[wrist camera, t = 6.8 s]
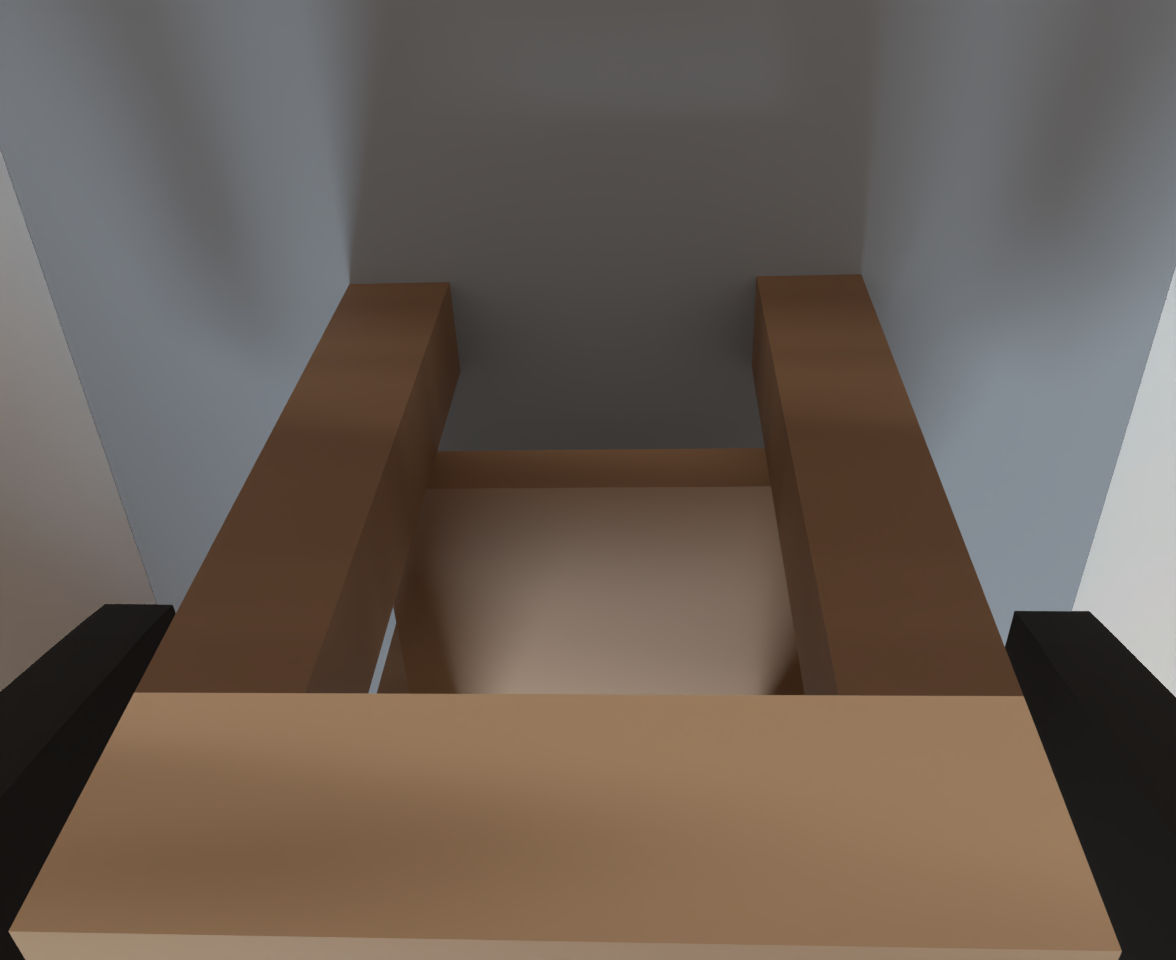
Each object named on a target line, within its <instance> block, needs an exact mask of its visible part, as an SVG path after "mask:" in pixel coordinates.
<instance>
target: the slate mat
mask: <svg viewBox="0 0 1176 960" xmlns="http://www.w3.org/2000/svg"><path fill="white" fill-rule="evenodd" d="M0 149H1V152H2V155H3V158H4V161H5V164H6V167H7V170H8V173H9V175H10V178H11V181H12V184H13V187H14V190H15V193H16V196H17V199H18V202H19V205H20V207H21V210H22V213H23V216H24V219H25V222H26V225H27V228H28V231H29V234H30V237H31V239H32V242H33V245H34V248H35V251H36V254H37V257H38V260H39V263H40V266H41V269H42V271H43V274H44V277H45V280H46V283H47V286H48V289H49V292H50V295H51V298H52V301H53V303H54V306H55V309H56V312H57V315H58V318H59V321H60V324H61V327H62V330H63V333H64V335H65V338H66V341H67V344H68V347H69V350H70V353H71V356H72V359H73V362H74V365H75V368H76V370H77V373H78V376H79V379H80V382H81V385H82V388H83V391H84V394H85V397H86V400H87V402H88V405H89V408H90V411H91V414H92V417H93V420H94V423H95V426H96V429H97V432H98V434H99V437H100V440H101V443H102V446H103V449H104V452H105V455H106V458H107V461H108V464H109V466H110V469H111V472H112V475H113V478H114V481H115V484H116V487H117V490H118V493H119V496H120V498H121V501H122V504H123V507H124V510H125V513H126V516H127V519H128V522H129V525H130V528H131V530H132V533H133V536H134V539H135V542H136V545H137V548H138V551H139V554H140V557H141V560H142V562H143V565H144V568H145V571H146V574H147V577H148V580H149V583H150V586H151V589H152V592H153V594H154V597H155V600H156V603H157V605H173V607H174V610H175V613H176V612H177V610H178V608H179V607H180V605H181V603H182V601H183V599H184V597H185V595H186V593H187V591H188V590H189V588H190V586H191V584H192V582H193V580H194V578H195V576H196V574H197V572H198V571H199V569H200V567H201V565H202V563H203V561H204V559H205V557H206V555H207V553H208V552H209V550H210V548H211V546H212V544H213V542H214V540H215V538H216V536H217V534H218V533H219V531H220V529H221V527H222V525H223V523H224V521H225V519H226V517H227V515H228V514H229V512H230V510H231V508H232V506H233V504H234V502H235V500H236V498H237V496H238V495H239V493H240V491H241V489H242V487H243V485H244V483H245V481H246V479H247V477H248V476H249V474H250V472H251V470H252V468H253V466H254V464H255V462H256V460H257V458H258V457H259V455H260V453H261V451H262V449H263V447H264V445H265V443H266V441H267V439H268V438H269V436H270V434H271V432H272V430H273V428H274V426H275V424H276V422H277V420H278V419H279V417H280V415H281V413H282V411H283V409H284V407H285V405H286V403H287V401H288V400H289V398H290V396H291V394H292V392H293V390H294V388H295V386H296V384H297V382H298V381H299V379H300V377H301V375H302V373H303V371H304V369H305V367H306V365H307V364H308V362H309V360H310V358H311V356H312V354H313V352H314V350H315V348H316V346H317V345H318V343H319V341H320V339H321V337H322V335H323V333H324V331H325V329H326V327H327V326H328V324H329V322H330V320H331V318H332V316H333V314H334V312H335V310H336V308H337V307H338V305H339V303H340V301H341V299H342V297H343V295H344V293H345V291H346V289H347V288H348V286H349V284H379V283H432V282H449V283H450V291H451V299H452V307H453V315H454V323H455V331H456V339H457V348H458V356H459V364H460V374H459V378H458V381H457V385H456V388H455V392H454V395H453V399H452V402H451V406H450V409H449V413H448V416H447V420H446V423H445V427H444V430H443V434H442V437H441V441H440V444H439V448H438V451H504V450H609V449H714V448H765V446H764V440H763V433H762V427H761V421H760V415H759V409H758V402H757V396H756V390H755V384H754V378H753V371H752V354H753V334H754V315H755V296H756V277H757V276H801V275H853V274H861V275H862V278H863V280H864V283H865V285H866V288H867V291H868V293H869V296H870V298H871V301H872V304H873V306H874V309H875V311H876V314H877V317H878V319H879V322H880V324H881V327H882V330H883V332H884V335H885V337H886V340H887V342H888V345H889V348H890V350H891V353H892V355H893V358H894V361H895V363H896V366H897V368H898V371H899V374H900V376H901V379H902V381H903V384H904V387H905V389H906V392H907V394H908V397H909V400H910V402H911V405H912V407H913V410H914V413H915V415H916V418H917V420H918V423H919V426H920V428H921V431H922V433H923V436H924V439H925V441H926V444H927V446H928V449H929V452H930V454H931V457H932V459H933V462H934V465H935V467H936V470H937V472H938V475H939V478H940V480H941V483H942V485H943V488H944V491H945V493H946V496H947V498H948V501H949V504H950V506H951V509H952V511H953V514H954V517H955V519H956V522H957V524H958V527H959V529H960V532H961V535H962V537H963V540H964V542H965V545H966V548H967V550H968V553H969V555H970V558H971V561H972V563H973V566H974V568H975V571H976V574H977V576H978V579H979V581H980V584H981V587H982V589H983V592H984V594H985V597H986V600H987V602H988V605H989V607H990V610H991V613H992V615H993V618H994V620H995V623H996V626H997V628H998V631H999V633H1000V636H1001V639H1002V641H1003V644H1004V646H1005V645H1006V641H1007V638H1008V634H1009V630H1010V626H1011V622H1012V619H1013V615H1014V611H1072V608H1073V605H1074V601H1075V598H1076V595H1077V592H1078V588H1079V585H1080V582H1081V578H1082V575H1083V572H1084V568H1085V565H1086V562H1087V558H1088V555H1089V552H1090V548H1091V545H1092V542H1093V539H1094V535H1095V532H1096V529H1097V525H1098V522H1099V519H1100V515H1101V512H1102V509H1103V505H1104V502H1105V499H1106V495H1107V492H1108V489H1109V486H1110V482H1111V479H1112V476H1113V472H1114V469H1115V466H1116V462H1117V459H1118V456H1119V452H1120V449H1121V446H1122V442H1123V439H1124V436H1125V433H1126V429H1127V426H1128V423H1129V419H1130V416H1131V413H1132V409H1133V406H1134V403H1135V399H1136V396H1137V393H1138V389H1139V386H1140V383H1141V380H1142V376H1143V373H1144V370H1145V366H1146V363H1147V360H1148V356H1149V353H1150V350H1151V346H1152V343H1153V340H1154V336H1155V333H1156V330H1157V327H1158V323H1159V320H1160V317H1161V313H1162V310H1163V307H1164V303H1165V300H1166V297H1167V293H1168V290H1169V287H1170V283H1171V280H1172V277H1173V274H1174V270H1175V267H1176V0H0ZM395 625H396V619H395V614H394V609H392V612H391V616H390V619H389V623H388V626H387V630H386V633H385V637H384V640H383V644H382V647H381V651H380V654H379V658H378V661H377V665H376V668H375V671H374V675H373V678H372V682H371V685H370V689H369V692H368V694H377V690H378V687H379V683H380V679H381V676H382V672H383V669H384V665H385V661H386V658H387V654H388V651H389V647H390V643H391V640H392V636H393V633H394V629H395Z"/></svg>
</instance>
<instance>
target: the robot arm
mask: <svg viewBox="0 0 1176 960" xmlns="http://www.w3.org/2000/svg"><path fill="white" fill-rule="evenodd" d="M175 614H176V613H175V610H174V607H173V605H146V604H105V605H104V606H102V607H101V608H100V609H98V610H97V611H96V612H95V613H93V614H92V615H91V616H90V617H88V618H87V619H86V620H85V621H83V622H82V623H81V624H80V625H78V626H77V627H76V628H75V629H74V630H72V631H71V632H70V633H69V634H68V635H66V636H65V637H64V638H63V639H62V640H61V641H59V642H58V643H57V644H56V645H55V646H53V647H52V648H51V649H50V650H49V651H48V652H46V653H45V654H44V655H43V656H42V657H41V658H39V659H38V660H37V661H36V662H35V663H34V664H32V665H31V666H30V667H29V668H28V669H27V670H25V671H24V672H23V673H22V674H21V675H20V676H18V677H17V678H16V679H15V680H14V681H13V682H11V683H10V684H9V685H8V686H7V687H6V688H4V689H3V690H2V691H1V692H0V960H25V958H24V957H23V955H22V953H21V952H20V950H19V948H18V947H17V945H16V943H15V942H14V940H13V938H12V937H11V935H10V933H9V932H8V931H9V929H10V928H11V926H12V924H13V922H14V920H15V918H16V916H17V914H18V912H19V910H20V909H21V907H22V905H23V903H24V901H25V899H26V897H27V895H28V893H29V891H30V890H31V888H32V886H33V884H34V882H35V880H36V878H37V876H38V874H39V872H40V871H41V869H42V867H43V865H44V863H45V861H46V859H47V857H48V855H49V853H50V852H51V850H52V848H53V846H54V844H55V842H56V840H57V838H58V836H59V834H60V833H61V831H62V829H63V827H64V825H65V823H66V821H67V819H68V817H69V815H70V814H71V812H72V810H73V808H74V806H75V804H76V802H77V800H78V798H79V797H80V795H81V793H82V791H83V789H84V787H85V785H86V783H87V781H88V779H89V778H90V776H91V774H92V772H93V770H94V768H95V766H96V764H97V762H98V760H99V759H100V757H101V755H102V753H103V751H104V749H105V747H106V745H107V743H108V741H109V740H110V738H111V736H112V734H113V732H114V730H115V728H116V726H117V724H118V722H119V721H120V719H121V717H122V715H123V713H124V711H125V709H126V707H127V705H128V703H129V702H130V700H131V698H132V696H133V694H134V692H135V690H136V688H137V686H138V684H139V683H140V681H141V679H142V677H143V675H144V673H145V671H146V669H147V667H148V665H149V664H150V662H151V660H152V658H153V656H154V654H155V652H156V650H157V648H158V646H159V645H160V643H161V641H162V639H163V637H164V635H165V633H166V631H167V629H168V627H169V626H170V624H171V622H172V620H173V618H174V616H175ZM1005 649H1006V652H1007V654H1008V657H1009V659H1010V662H1011V665H1012V667H1013V670H1014V672H1015V675H1016V678H1017V680H1018V683H1019V685H1020V688H1021V691H1022V693H1023V696H1024V698H1025V701H1026V703H1027V706H1028V709H1029V711H1030V714H1031V716H1032V719H1033V722H1034V724H1035V727H1036V729H1037V732H1038V735H1039V737H1040V740H1041V742H1042V745H1043V748H1044V750H1045V753H1046V755H1047V758H1048V761H1049V763H1050V766H1051V768H1052V771H1053V774H1054V776H1055V779H1056V781H1057V784H1058V787H1059V789H1060V792H1061V794H1062V797H1063V800H1064V802H1065V805H1066V807H1067V810H1068V813H1069V815H1070V818H1071V820H1072V823H1073V826H1074V828H1075V831H1076V833H1077V836H1078V839H1079V841H1080V844H1081V846H1082V849H1083V852H1084V854H1085V857H1086V859H1087V862H1088V865H1089V867H1090V870H1091V872H1092V875H1093V877H1094V880H1095V883H1096V885H1097V888H1098V890H1099V893H1100V896H1101V898H1102V901H1103V903H1104V906H1105V909H1106V911H1107V914H1108V916H1109V919H1110V922H1111V924H1112V927H1113V929H1114V932H1115V935H1116V937H1117V940H1118V942H1119V945H1120V948H1121V950H1122V952H1121V955H1120V957H1119V959H1118V960H1176V697H1175V696H1174V695H1173V694H1172V693H1171V692H1170V691H1169V690H1168V689H1167V688H1166V687H1165V686H1164V685H1163V684H1162V683H1161V682H1160V681H1159V680H1158V679H1157V678H1156V677H1155V676H1154V675H1153V674H1152V673H1151V672H1150V671H1149V670H1148V669H1147V668H1146V667H1145V666H1144V665H1143V664H1142V663H1141V662H1140V661H1139V660H1138V659H1137V658H1136V657H1135V656H1134V655H1133V654H1132V653H1131V652H1130V651H1129V650H1128V649H1127V648H1126V647H1125V646H1124V645H1123V644H1122V643H1121V642H1120V641H1119V640H1118V639H1117V638H1116V637H1115V636H1114V635H1113V634H1112V633H1111V632H1110V631H1109V630H1108V629H1107V628H1106V627H1105V626H1104V625H1103V624H1102V623H1101V622H1100V621H1099V620H1098V619H1097V618H1096V617H1095V616H1094V615H1092V614H1091V613H1090V612H1089V611H1014V615H1013V619H1012V622H1011V626H1010V630H1009V634H1008V638H1007V641H1006V645H1005Z"/></svg>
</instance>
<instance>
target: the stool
mask: <svg viewBox="0 0 1176 960" xmlns="http://www.w3.org/2000/svg"><path fill="white" fill-rule="evenodd" d="M752 371H753V378H754V384H755V390H756V396H757V402H758V409H759V415H760V421H761V427H762V433H763V440H764V446H765V448H714V449H609V450H504V451H438V448H439V444H440V441H441V437H442V434H443V430H444V427H445V423H446V420H447V416H448V413H449V409H450V406H451V402H452V399H453V395H454V392H455V388H456V385H457V381H458V378H459V374H460V364H459V356H458V348H457V339H456V331H455V323H454V315H453V307H452V299H451V291H450V283H449V282H432V283H379V284H349V286H348V288H347V289H346V291H345V293H344V295H343V297H342V299H341V301H340V303H339V305H338V307H337V308H336V310H335V312H334V314H333V316H332V318H331V320H330V322H329V324H328V326H327V327H326V329H325V331H324V333H323V335H322V337H321V339H320V341H319V343H318V345H317V346H316V348H315V350H314V352H313V354H312V356H311V358H310V360H309V362H308V364H307V365H306V367H305V369H304V371H303V373H302V375H301V377H300V379H299V381H298V382H297V384H296V386H295V388H294V390H293V392H292V394H291V396H290V398H289V400H288V401H287V403H286V405H285V407H284V409H283V411H282V413H281V415H280V417H279V419H278V420H277V422H276V424H275V426H274V428H273V430H272V432H271V434H270V436H269V438H268V439H267V441H266V443H265V445H264V447H263V449H262V451H261V453H260V455H259V457H258V458H257V460H256V462H255V464H254V466H253V468H252V470H251V472H250V474H249V476H248V477H247V479H246V481H245V483H244V485H243V487H242V489H241V491H240V493H239V495H238V496H237V498H236V500H235V502H234V504H233V506H232V508H231V510H230V512H229V514H228V515H227V517H226V519H225V521H224V523H223V525H222V527H221V529H220V531H219V533H218V534H217V536H216V538H215V540H214V542H213V544H212V546H211V548H210V550H209V552H208V553H207V555H206V557H205V559H204V561H203V563H202V565H201V567H200V569H199V571H198V572H197V574H196V576H195V578H194V580H193V582H192V584H191V586H190V588H189V590H188V591H187V593H186V595H185V597H184V599H183V601H182V603H181V605H180V607H179V608H178V610H177V612H176V614H175V616H174V618H173V620H172V622H171V624H170V626H169V627H168V629H167V631H166V633H165V635H164V637H163V639H162V641H161V643H160V645H159V646H158V648H157V650H156V652H155V654H154V656H153V658H152V660H151V662H150V664H149V665H148V667H147V669H146V671H145V673H144V675H143V677H142V679H141V681H140V683H139V684H138V686H137V688H136V690H135V692H134V694H133V696H132V698H131V700H130V702H129V703H128V705H127V707H126V709H125V711H124V713H123V715H122V717H121V719H120V721H119V722H118V724H117V726H116V728H115V730H114V732H113V734H112V736H111V738H110V740H109V741H108V743H107V745H106V747H105V749H104V751H103V753H102V755H101V757H100V759H99V760H98V762H97V764H96V766H95V768H94V770H93V772H92V774H91V776H90V778H89V779H88V781H87V783H86V785H85V787H84V789H83V791H82V793H81V795H80V797H79V798H78V800H77V802H76V804H75V806H74V808H73V810H72V812H71V814H70V815H69V817H68V819H67V821H66V823H65V825H64V827H63V829H62V831H61V833H60V834H59V836H58V838H57V840H56V842H55V844H54V846H53V848H52V850H51V852H50V853H49V855H48V857H47V859H46V861H45V863H44V865H43V867H42V869H41V871H40V872H39V874H38V876H37V878H36V880H35V882H34V884H33V886H32V888H31V890H30V891H29V893H28V895H27V897H26V899H25V901H24V903H23V905H22V907H21V909H20V910H19V912H18V914H17V916H16V918H15V920H14V922H13V924H12V926H11V928H10V929H9V931H8V932H9V933H10V935H11V937H12V938H13V940H14V942H15V943H16V945H17V947H18V948H19V950H20V952H21V953H22V955H23V957H24V958H25V960H1118V959H1119V957H1120V955H1121V952H1122V950H1121V948H1120V945H1119V942H1118V940H1117V937H1116V935H1115V932H1114V929H1113V927H1112V924H1111V922H1110V919H1109V916H1108V914H1107V911H1106V909H1105V906H1104V903H1103V901H1102V898H1101V896H1100V893H1099V890H1098V888H1097V885H1096V883H1095V880H1094V877H1093V875H1092V872H1091V870H1090V867H1089V865H1088V862H1087V859H1086V857H1085V854H1084V852H1083V849H1082V846H1081V844H1080V841H1079V839H1078V836H1077V833H1076V831H1075V828H1074V826H1073V823H1072V820H1071V818H1070V815H1069V813H1068V810H1067V807H1066V805H1065V802H1064V800H1063V797H1062V794H1061V792H1060V789H1059V787H1058V784H1057V781H1056V779H1055V776H1054V774H1053V771H1052V768H1051V766H1050V763H1049V761H1048V758H1047V755H1046V753H1045V750H1044V748H1043V745H1042V742H1041V740H1040V737H1039V735H1038V732H1037V729H1036V727H1035V724H1034V722H1033V719H1032V716H1031V714H1030V711H1029V709H1028V706H1027V703H1026V701H1025V698H1024V696H1023V693H1022V691H1021V688H1020V685H1019V683H1018V680H1017V678H1016V675H1015V672H1014V670H1013V667H1012V665H1011V662H1010V659H1009V657H1008V654H1007V652H1006V649H1005V646H1004V644H1003V641H1002V639H1001V636H1000V633H999V631H998V628H997V626H996V623H995V620H994V618H993V615H992V613H991V610H990V607H989V605H988V602H987V600H986V597H985V594H984V592H983V589H982V587H981V584H980V581H979V579H978V576H977V574H976V571H975V568H974V566H973V563H972V561H971V558H970V555H969V553H968V550H967V548H966V545H965V542H964V540H963V537H962V535H961V532H960V529H959V527H958V524H957V522H956V519H955V517H954V514H953V511H952V509H951V506H950V504H949V501H948V498H947V496H946V493H945V491H944V488H943V485H942V483H941V480H940V478H939V475H938V472H937V470H936V467H935V465H934V462H933V459H932V457H931V454H930V452H929V449H928V446H927V444H926V441H925V439H924V436H923V433H922V431H921V428H920V426H919V423H918V420H917V418H916V415H915V413H914V410H913V407H912V405H911V402H910V400H909V397H908V394H907V392H906V389H905V387H904V384H903V381H902V379H901V376H900V374H899V371H898V368H897V366H896V363H895V361H894V358H893V355H892V353H891V350H890V348H889V345H888V342H887V340H886V337H885V335H884V332H883V330H882V327H881V324H880V322H879V319H878V317H877V314H876V311H875V309H874V306H873V304H872V301H871V298H870V296H869V293H868V291H867V288H866V285H865V283H864V280H863V278H862V275H861V274H853V275H801V276H757V277H756V296H755V315H754V334H753V354H752ZM392 609H394V614H395V619H396V625H395V629H394V633H393V636H392V640H391V643H390V647H389V651H388V654H387V658H386V661H385V665H384V669H383V672H382V676H381V679H380V683H379V687H378V690H377V694H368V692H369V689H370V685H371V682H372V678H373V675H374V671H375V668H376V665H377V661H378V658H379V654H380V651H381V647H382V644H383V640H384V637H385V633H386V630H387V626H388V623H389V619H390V616H391V612H392Z"/></svg>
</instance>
